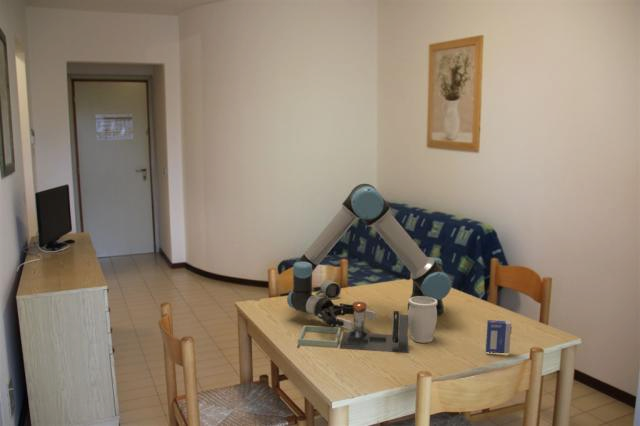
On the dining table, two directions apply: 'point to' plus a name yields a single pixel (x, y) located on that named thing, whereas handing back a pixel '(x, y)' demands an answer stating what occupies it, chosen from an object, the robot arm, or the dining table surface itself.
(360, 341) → the pulley plate
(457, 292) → the dining table surface
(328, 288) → the ceramic mug
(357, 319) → the copper-capped metal cylinder
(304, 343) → the tray
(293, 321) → the dining table surface
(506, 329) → the walkman
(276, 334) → the dining table surface
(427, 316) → the jar
